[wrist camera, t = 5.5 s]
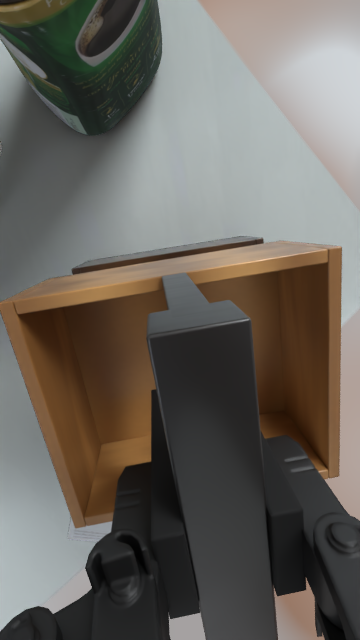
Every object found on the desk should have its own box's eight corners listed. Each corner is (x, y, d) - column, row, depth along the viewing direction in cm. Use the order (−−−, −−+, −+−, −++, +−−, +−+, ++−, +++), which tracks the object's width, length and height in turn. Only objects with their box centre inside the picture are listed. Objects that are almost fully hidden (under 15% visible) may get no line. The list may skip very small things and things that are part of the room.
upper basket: (97, 439, 22) (18, 749, 9) (52, 276, 18) (-196, 395, 5) (284, 404, 22) (469, 647, 9) (276, 239, 19) (555, 265, 6)
